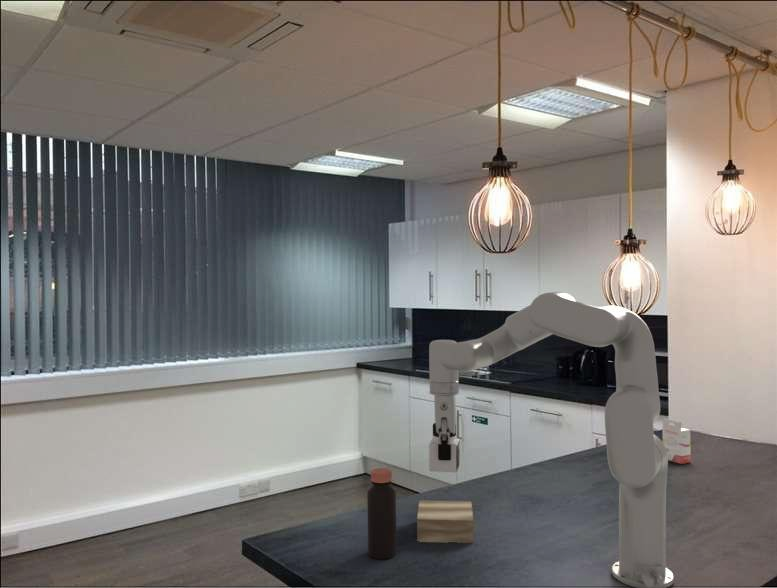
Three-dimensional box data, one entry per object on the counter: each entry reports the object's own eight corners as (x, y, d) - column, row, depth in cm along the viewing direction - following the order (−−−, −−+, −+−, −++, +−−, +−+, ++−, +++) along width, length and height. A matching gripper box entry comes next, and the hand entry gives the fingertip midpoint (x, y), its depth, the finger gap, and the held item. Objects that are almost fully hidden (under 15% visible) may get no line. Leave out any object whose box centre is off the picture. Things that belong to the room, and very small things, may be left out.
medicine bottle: (457, 472, 164) (456, 425, 164) (429, 471, 165) (428, 424, 165) (459, 465, 171) (459, 419, 171) (432, 463, 172) (432, 418, 172)
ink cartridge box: (691, 462, 229) (691, 421, 228) (681, 464, 227) (681, 422, 226) (671, 456, 236) (671, 416, 236) (661, 458, 234) (661, 418, 234)
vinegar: (380, 545, 160) (379, 465, 159) (402, 553, 155) (401, 470, 155) (362, 555, 154) (361, 471, 154) (384, 562, 150) (383, 477, 150)
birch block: (473, 544, 161) (473, 520, 161) (417, 543, 162) (417, 519, 162) (471, 523, 175) (471, 501, 175) (419, 522, 176) (419, 500, 176)
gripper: (459, 393, 159) (459, 465, 159) (458, 382, 176) (458, 447, 176) (428, 393, 159) (429, 464, 160) (430, 382, 177) (431, 446, 177)
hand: (444, 455), depth 168 cm, fingers closed on medicine bottle, 7 cm apart
